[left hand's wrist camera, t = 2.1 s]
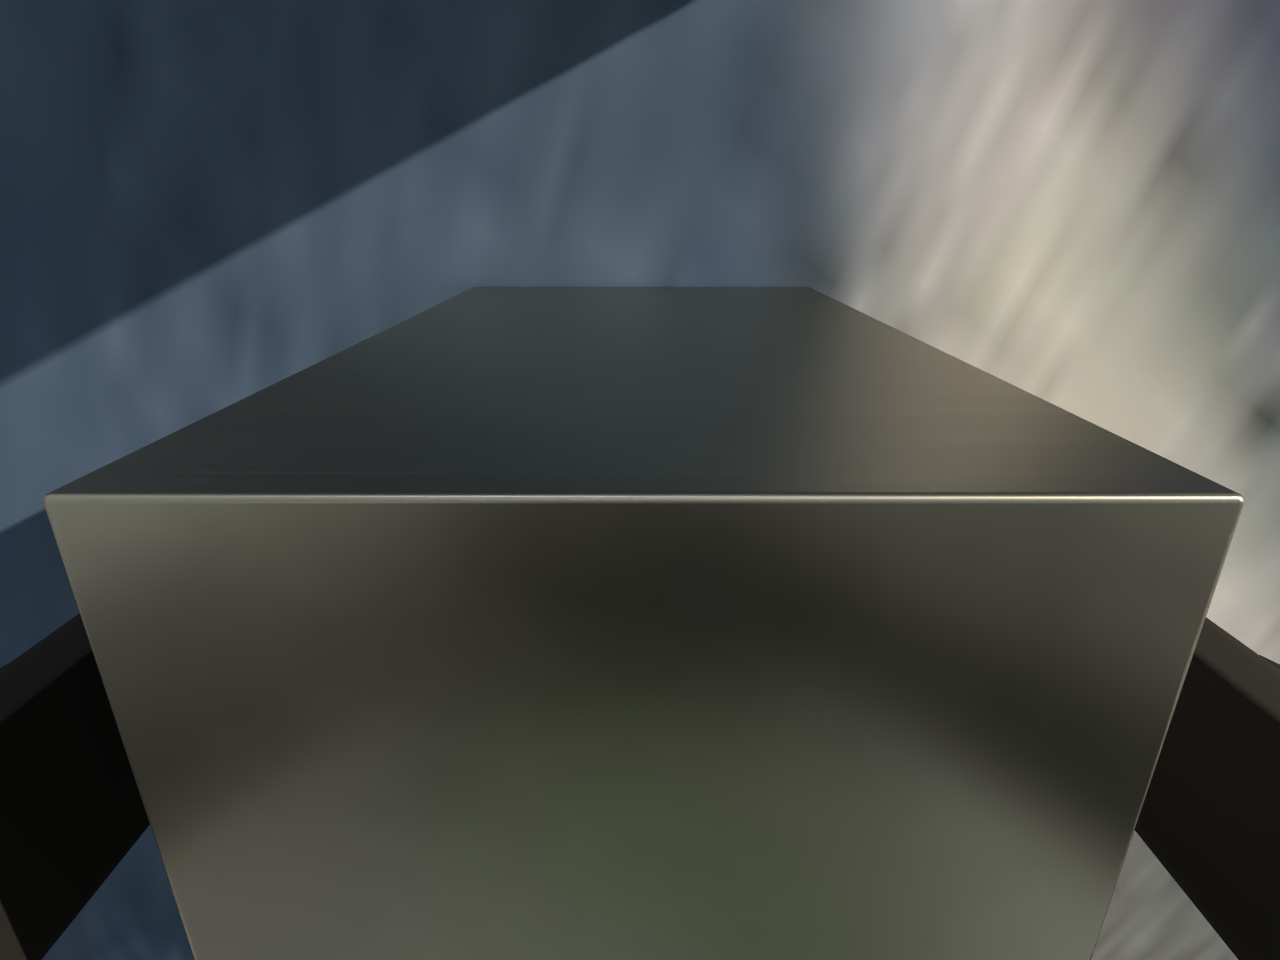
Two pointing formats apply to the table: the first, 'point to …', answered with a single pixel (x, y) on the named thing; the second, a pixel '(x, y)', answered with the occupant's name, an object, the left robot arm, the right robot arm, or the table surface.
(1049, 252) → the table surface
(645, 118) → the table surface
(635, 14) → the table surface
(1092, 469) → the box
